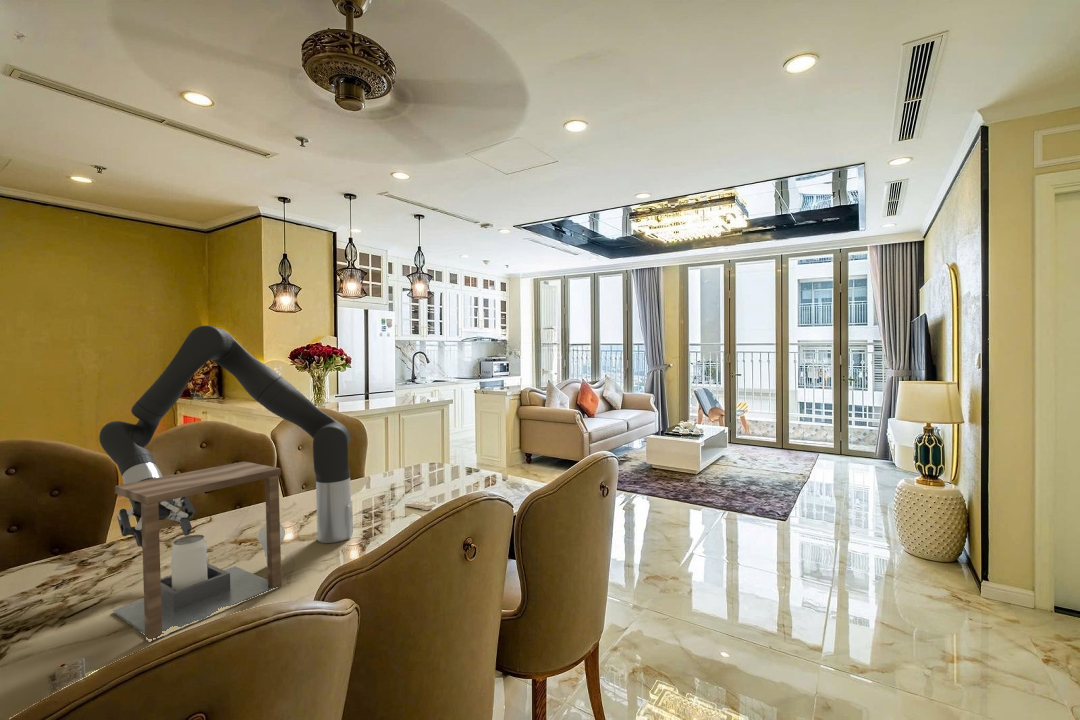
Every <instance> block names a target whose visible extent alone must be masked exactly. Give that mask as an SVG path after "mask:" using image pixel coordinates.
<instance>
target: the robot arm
mask: <svg viewBox="0 0 1080 720" xmlns="http://www.w3.org/2000/svg"><path fill="white" fill-rule="evenodd" d="M209 361H212V362H214V363H215V364H216V365H219V366H220V367H222V368H223V369H225V370H226V371H227V372H229V373H230V374H231V375H232V376H234V378H235V379H236V381H238V382H239V384H240V385H241V386H242V388H243V389H244V390H245V391H246V392H247V393H248V395H249V396H250V397H252V398H253V400H254V401H256V402H257V403H258V404H260V405H261V406H262V407H263V408H265V409H266V410H268V411H269V412H270V413H272V414H274V415H275V416H277V417H279V418H281V419H283V420H285V421H287V422H289V423H292V424H294V425H296V426H297V427H300V428H301V429H302V430H303V431H304V432H305V433H306V434H308V435H309V436H310V437H311V438H312V440H313V441H312V454H313V455H312V457H313V458H312V459H313V471H314V475H315V489H316V491H315V493H316V496H315V497H316V529H317V530H316V531H317V532H316V533H317V534H316V535H317V541H318V542H319V543H320V544H321V543H322V544H333V543H339V542H342V541H345V540H350V539H351V537H352V535H353V533H354V518H353V517H354V516H353V512H354V511H353V501H352V496H351V495H352V494H351V469H350V466H349V465H350V464H349V449H348V447H349V445H350V443H351V433H350V431H349V429H348V428H347V427H346V425H344V424H343V423H341V422H339V421H338V420H336V419H335V418H333V417H331V416H330V415H328V414H327V413H325V412H323V410H321V409H320V408H318V407H317V406H316V405H315V404H314V403H313V402H312V401H310V400H309V399H308V397H306V396H305V395H304V394H303V393H302V392H301V391H300V390H298V389H297V388H296V387H295V386H294V385H293V384H291V382H289V381H288V380H287V379H285V378H284V377H283V376H281V375H280V374H279V373H278V372H276V371H275V370H273V369H272V368H271V367H269V366H268V365H266V364H265V363H263V362H262V361H261V360H259V359H257V358H256V357H255V356H253V355H252V354H251V353H250V352H248V351H247V349H246V348H244V347H243V345H241V344H240V342H238V341H237V339H235V338H234V336H232V334H230V333H229V331H227V330H225V329H223V328H220V327H217V326H213V325H204V324H203V325H200V326H197V327H195V328H194V329H192V330H191V331H190V333H188V335H187V336H186V338H185V339H184V342H183V343H182V344H181V346H180V347H179V349H178V351H177V353H176V354H175V355H174V357H173V358H172V360H171V361H170V362H169V364H168V366H166V368H165V369H164V370H163V372H162V373H160V375H159V376H158V377H157V379H156V380H155V381H154V382H153V384H152V385H151V386H150V387H148V389H147V390H146V391H145V392H144V393H143V394H142V395H141V396H140V398H139V399H138V400H137V401H136V402H135V403H134V404H133V406H131V408H130V412H131V414H132V415H133V416H134V417H135V418H137V419H138V421H137V423H130V422H125V421H121V420H115V421H110V422H108V423H107V424H105V425H104V426H103V427H102V428H101V429H100V431H99V434H98V435H99V436H98V439H99V444H100V446H101V447H102V449H103V450H104V452H105V453H106V454H107V455H108V457H109V458H110V459H111V460H112V461H113V462H114V463H115V464H116V465H117V467H118V470H119V472H120V476H121V477H122V483H123V484H128V483H134V482H139V481H144V480H149V479H155V478H160V477H164V475H163V474H162V472H161V470H160V469H159V467H158V465H157V462H156V461H155V459H154V456H153V454H152V453H151V451H150V450H149V449H147V448H145V447H147V446H148V445H149V444H150V442H151V441H152V438H153V437H154V435H155V433H156V431H157V429H158V427H159V425H160V423H161V420H162V419H163V418H164V416H165V415H166V414H167V413H168V412H169V411H170V410H171V409H172V407H174V405H175V404H176V402H177V401H178V400H179V399H180V398H181V395H183V393H184V391H185V389H186V387H187V386H188V383H189V382H190V380H191V379H192V377H193V376H194V375H195V374H196V373H197V371H199V369H201V367H203V366H204V365H205V364H207V363H208V362H209ZM123 484H122V485H123ZM128 499H129V498H128ZM129 503H130V504H131V507H132V508H131V509H125V508H121V509H120V510H119V512H118V514H117V516H116V517H117V522H118V525H119V529H120V533H121V536H122V537H127V536H133V537H134V541H135V542H136V544H137V545H136V546H137V547H139V548H140V547H141V548H142V519H141V503H140V502H138V501H135V500H132V499H129ZM176 506H178V507H176ZM180 508H181V509H182V510H181V509H180ZM158 509H159V521H163V520H166V519H169V520H171V521H176V522H178V523H179V527H180V528H181V532H182V533H183V535H184V537H185V536H190V533H191V531H192V530H193V529H192V528H193V525H192V524H191V521H190V520H191V519H193V518H194V515H195V513H196V509H195V508H194V505H193V504H192V502H191V500H190V498H189V496H185V497H181V498H177V499H172V500H168V501H163V502H159V503H158ZM171 512H172V513H171ZM131 516H134V517H136V518H138V519H139V520H138V521H137V524H136V525H135V526H132V525H131V522H130V518H131Z"/></svg>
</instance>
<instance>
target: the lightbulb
mask: <svg viewBox="0 0 1080 720" xmlns="http://www.w3.org/2000/svg"><path fill="white" fill-rule="evenodd" d="M285 535H286V529H285V527H284V526H283V525H282V524H281V523H280V546H281V544H282V542H283V541H284V538H285V537H286V536H285ZM257 540H258V543H259V544H260V546H261V547H262V548H263V551H264V557H265V559H266V561H265V562H266V563H267V531H266V523H265V524H264V525H263V526H262V527H261V528H260V529H259V531H258V532H257Z"/></svg>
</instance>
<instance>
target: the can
mask: <svg viewBox="0 0 1080 720" xmlns="http://www.w3.org/2000/svg"><path fill="white" fill-rule="evenodd" d="M172 543H173V545H172V547H171V549H170V550H171V551H170V564H171V565H170V567H171V570H170V571H171V575H172V589H174V590H176V591H178V590H180V589H183V588H186V587H189V586H191V585H194V584H197V583H199V582H202V581H205V580H208V576H207V563H208V549H207V548H208V546H207V541H206V539H205V535H204V534H203V535H202V534H191V535H190V534H189V535H186V536H185V535H184V536H182V537H180V538H176V539H175V540H174V541H173V542H172Z"/></svg>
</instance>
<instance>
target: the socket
mask: <svg viewBox="0 0 1080 720" xmlns="http://www.w3.org/2000/svg"><path fill="white" fill-rule="evenodd" d="M207 576H208V580H205V581H202V582H199V583H197V584H194V585H191V586H189V587H186V588H183V589H180V590H178V591H176V590H174V589H172V574H169V575H167V576H165V577H161V605H162V631H166V630H167V629H169V628H170V627H172V626H173V627H174V626H178V627H182V626H184V625H186V624H190V623H192V622H194V621H197V620H201V619H204V618H206V617H207V616H210V615H211V614H212V613H214V612H216V611H218V608H219V609H220V608H221V607H222V608H223V607H226V606H231V605H234V604H237V603H239V602H241V601H244V600H248V599H250V598H252V597H255V596H257V595H259V594H261V593H264V592H266V591H269V590H271V589H273V588H275V587H270V586H268V578H264V577H262V576H259V575H257V574H254V573H252V572H250V571H247V570H246V569H243V568H241V567H238V566H232V567H229V568H226V569H221V568H219V567H217V566H214V565H213V564H210V563H208V562H207ZM278 586H279V585H278ZM112 614H114V615H115V614H116V615H115V616H117V617H118V618H120V619H121V620H122V619H123V620H122V621H124V622H125V621H126V622H125V623H126V624H128V623H129V624H130V625H129V624H128V625H129V626H131V625H132V626H133V627H132V626H131V627H132V628H134V627H135V628H136V629H137V630H136V629H135V628H134V629H135V630H136V631H138V630H139V631H140V632H139V631H138V632H139V633H141V632H142V633H144V634H145V614H144V598H143V599H140V600H138V601H135V602H134V601H133V602H132V603H129V604H126V605H124V606H120V607H118V608H115V609H113V610H112ZM204 620H205V619H204ZM142 633H141V634H142ZM162 634H164V633H162ZM156 639H157V638H156ZM157 640H158V639H157Z"/></svg>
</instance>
